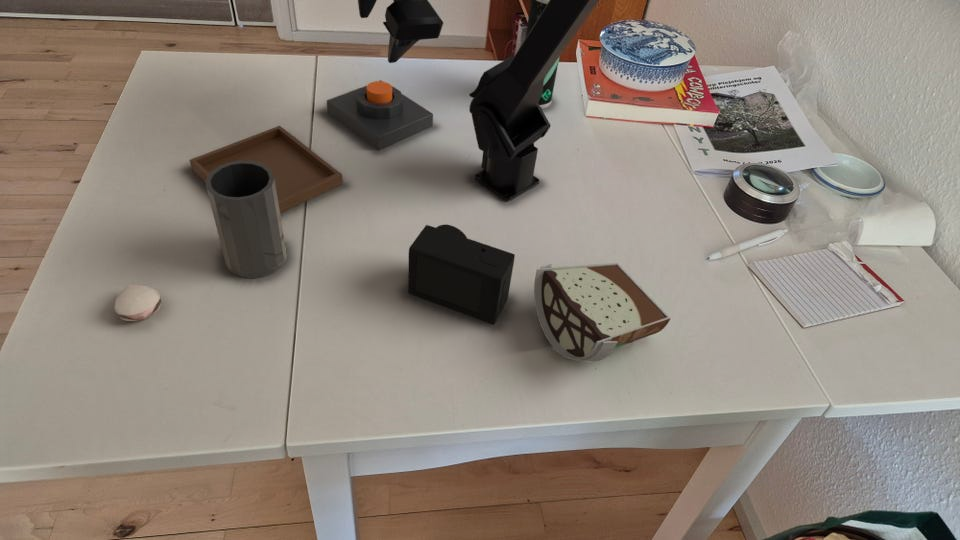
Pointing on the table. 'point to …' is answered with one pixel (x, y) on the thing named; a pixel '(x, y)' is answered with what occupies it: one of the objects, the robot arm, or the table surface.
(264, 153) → the tray
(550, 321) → the food container
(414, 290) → the digital camera
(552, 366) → the table surface
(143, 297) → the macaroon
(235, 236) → the cup
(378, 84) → the timer button
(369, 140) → the push button switch
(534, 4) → the spray can
